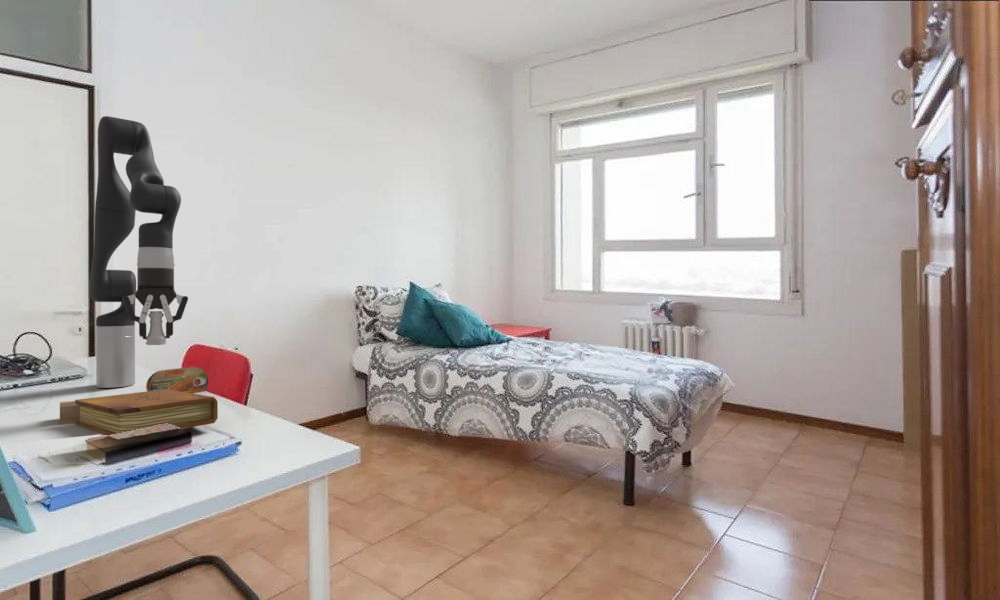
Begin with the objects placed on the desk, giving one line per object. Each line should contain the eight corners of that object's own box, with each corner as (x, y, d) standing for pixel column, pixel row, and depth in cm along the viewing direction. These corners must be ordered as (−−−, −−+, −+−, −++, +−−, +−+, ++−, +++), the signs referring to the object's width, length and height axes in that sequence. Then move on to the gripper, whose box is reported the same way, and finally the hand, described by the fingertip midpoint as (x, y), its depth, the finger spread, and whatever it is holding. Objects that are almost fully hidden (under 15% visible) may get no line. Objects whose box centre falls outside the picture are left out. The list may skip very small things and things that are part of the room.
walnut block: (60, 419, 126) (59, 401, 126) (103, 415, 131) (103, 398, 131) (59, 425, 120) (59, 406, 120) (105, 420, 125) (105, 402, 125)
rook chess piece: (157, 345, 133) (157, 311, 133) (140, 345, 134) (140, 311, 134) (171, 343, 138) (171, 311, 138) (155, 343, 139) (155, 311, 139)
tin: (149, 404, 144) (149, 371, 144) (144, 403, 146) (144, 370, 146) (209, 396, 157) (208, 365, 157) (203, 395, 158) (203, 365, 158)
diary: (217, 423, 121) (217, 396, 121) (118, 440, 106) (117, 410, 106) (169, 412, 135) (169, 387, 135) (75, 426, 120) (75, 398, 120)
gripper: (187, 269, 143) (188, 336, 143) (120, 267, 135) (120, 339, 135) (191, 267, 137) (191, 338, 137) (120, 265, 129) (120, 340, 129)
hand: (156, 338), depth 136 cm, fingers closed on rook chess piece, 4 cm apart
